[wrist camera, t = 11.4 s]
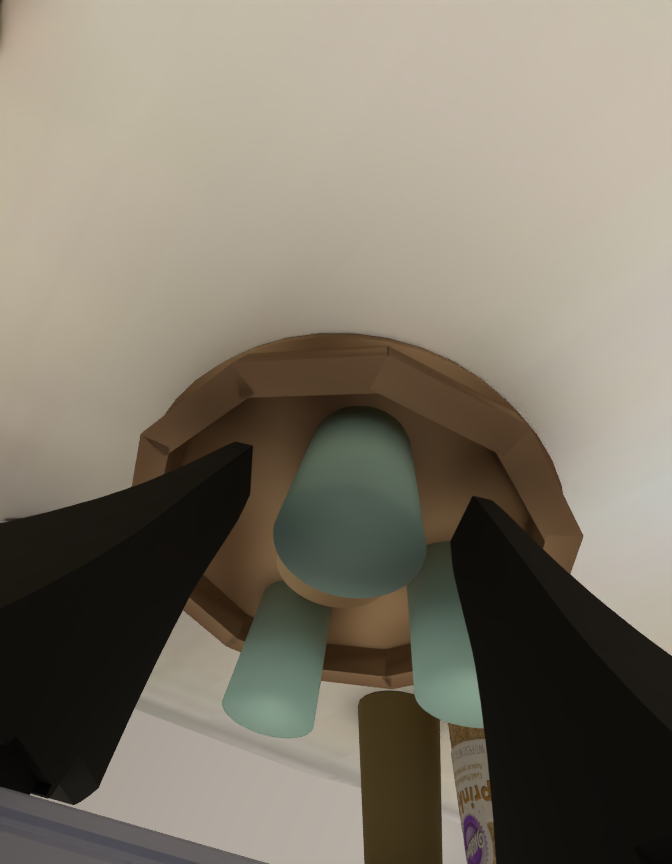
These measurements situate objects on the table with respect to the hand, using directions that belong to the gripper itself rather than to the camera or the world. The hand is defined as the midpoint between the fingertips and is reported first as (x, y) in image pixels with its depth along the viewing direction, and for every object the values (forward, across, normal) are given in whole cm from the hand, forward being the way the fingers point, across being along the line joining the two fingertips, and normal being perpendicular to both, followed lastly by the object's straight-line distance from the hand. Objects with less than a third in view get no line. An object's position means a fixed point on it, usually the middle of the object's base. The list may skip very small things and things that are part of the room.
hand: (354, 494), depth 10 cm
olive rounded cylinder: (+4, -8, +22) cm, 24 cm away
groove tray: (+4, 0, +5) cm, 7 cm away
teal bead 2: (+3, -6, +5) cm, 8 cm away
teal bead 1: (+3, 0, 0) cm, 3 cm away
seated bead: (+3, +1, +11) cm, 11 cm away
